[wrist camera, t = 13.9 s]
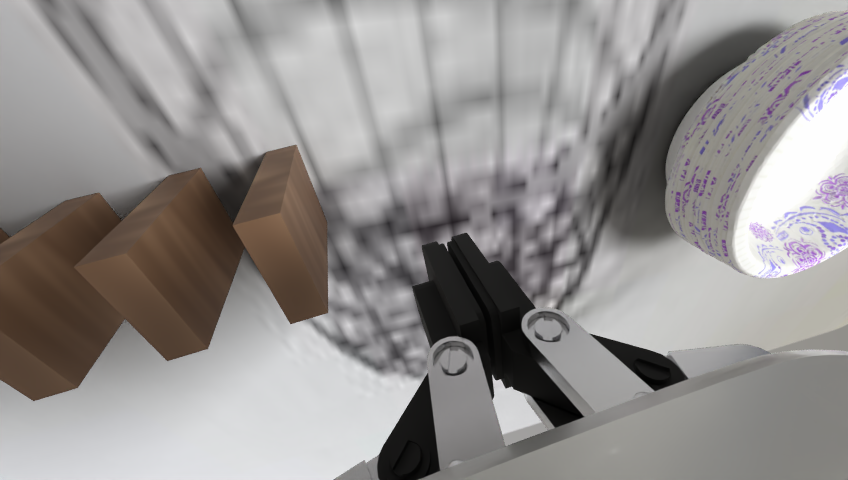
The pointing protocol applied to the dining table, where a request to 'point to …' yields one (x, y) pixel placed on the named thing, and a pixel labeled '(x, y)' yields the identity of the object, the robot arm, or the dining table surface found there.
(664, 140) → the dining table surface
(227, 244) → the domino
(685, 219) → the white floral bowl
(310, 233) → the domino
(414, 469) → the robot arm
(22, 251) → the domino
